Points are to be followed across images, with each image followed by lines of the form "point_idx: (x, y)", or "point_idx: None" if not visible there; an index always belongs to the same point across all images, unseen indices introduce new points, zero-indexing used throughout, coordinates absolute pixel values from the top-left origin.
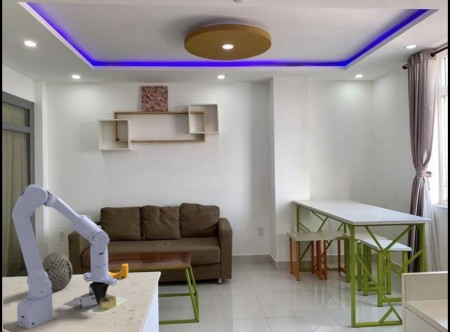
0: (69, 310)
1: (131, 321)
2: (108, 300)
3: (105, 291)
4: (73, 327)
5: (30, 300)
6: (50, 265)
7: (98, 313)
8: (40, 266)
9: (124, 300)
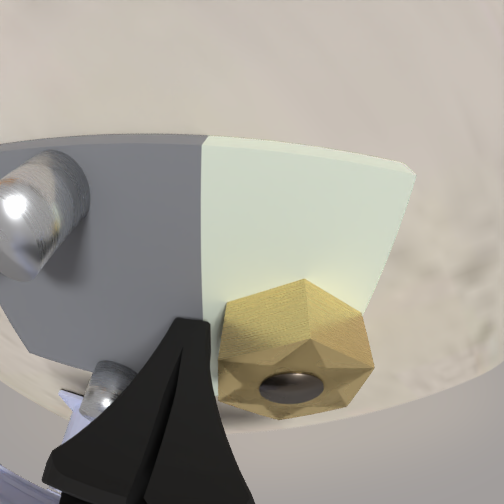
0: None
1: (487, 349)
2: (318, 398)
3: (215, 415)
4: (259, 431)
5: None
6: None
7: None
8: None
9: (381, 200)
